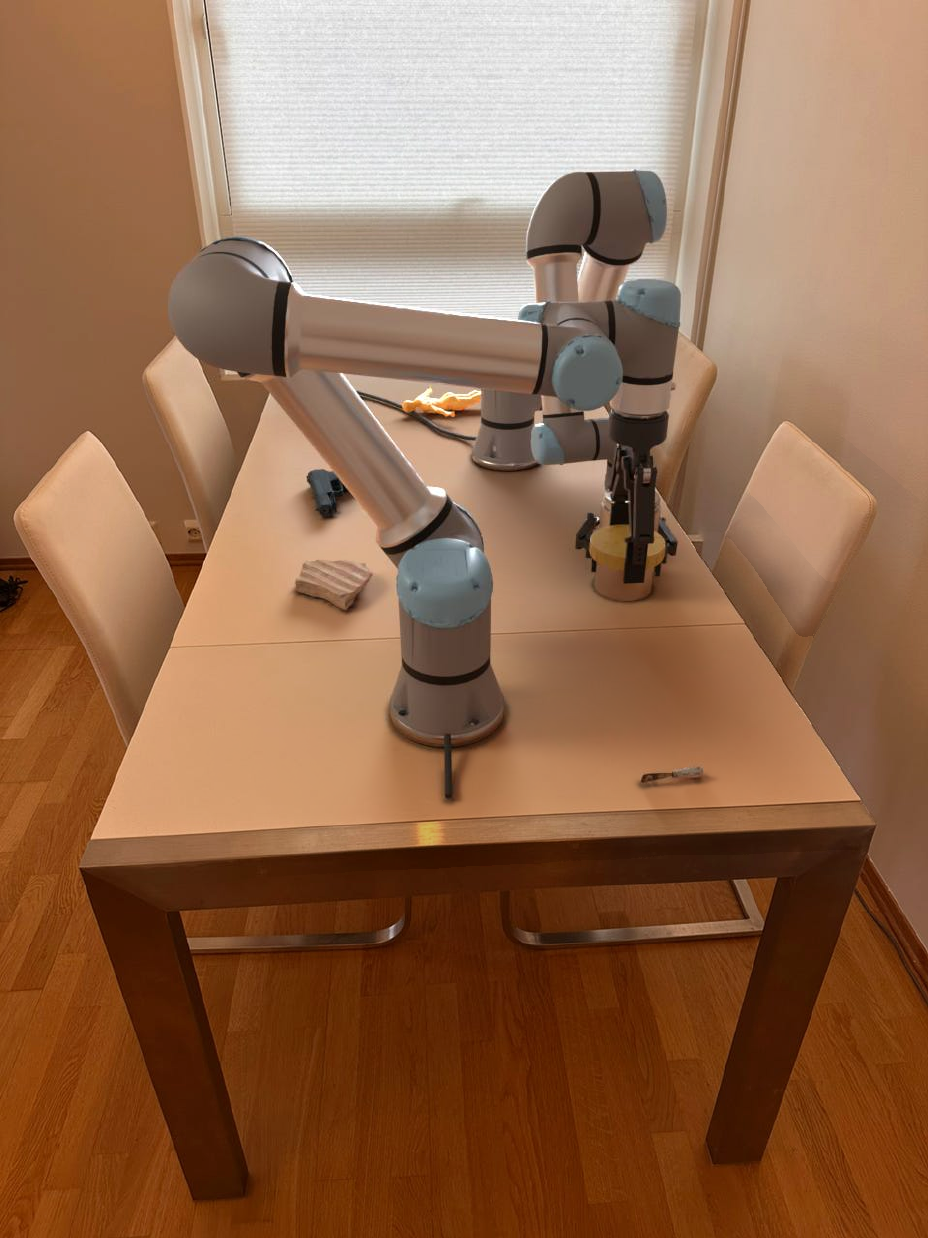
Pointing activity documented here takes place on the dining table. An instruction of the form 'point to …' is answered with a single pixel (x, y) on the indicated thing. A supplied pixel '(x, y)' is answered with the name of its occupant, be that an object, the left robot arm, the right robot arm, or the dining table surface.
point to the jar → (612, 579)
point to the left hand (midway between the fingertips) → (625, 562)
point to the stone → (333, 580)
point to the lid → (621, 547)
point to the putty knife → (674, 774)
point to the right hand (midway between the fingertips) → (626, 566)
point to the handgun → (325, 490)
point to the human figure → (442, 402)
